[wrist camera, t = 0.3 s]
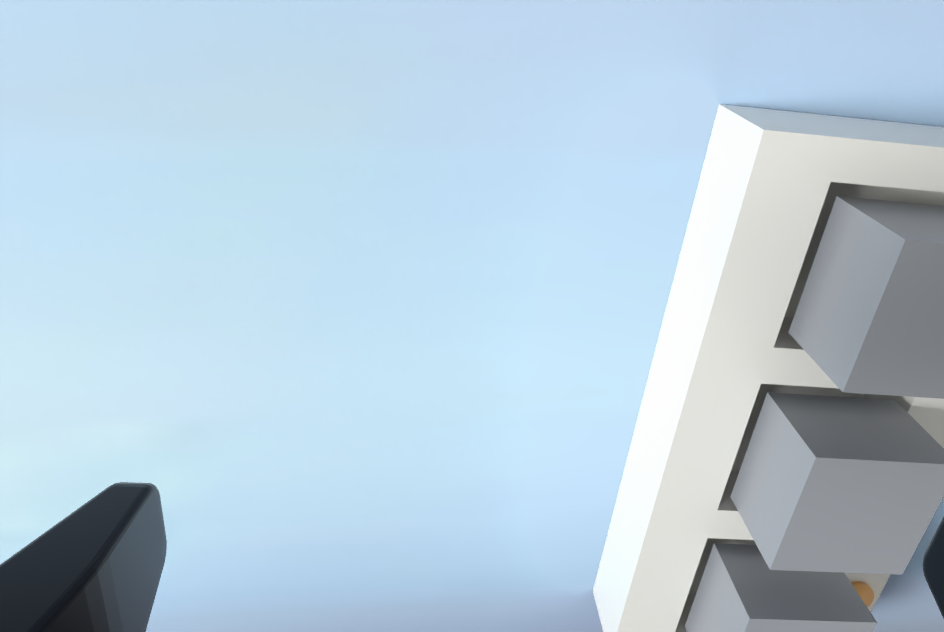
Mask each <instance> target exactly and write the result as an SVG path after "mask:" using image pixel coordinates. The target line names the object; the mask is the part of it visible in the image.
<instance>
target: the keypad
mask: <svg viewBox="0 0 944 632" xmlns="http://www.w3.org/2000/svg"><path fill="white" fill-rule="evenodd" d="M836 196H842V197H853V198H864V199H875V200H886V201H897V202H908V203H919V204H930V205H941V206H944V127H938V126H928V125H919V124H909V123H899V122H889V121H880V120H870V119H860V118H850V117H840V116H831V115H821V114H811V113H801V112H792V111H782V110H772V109H762V108H753V107H743V106H733V105H723V104H719V106H718V110H717V114H716V118H715V121H714V125H713V129H712V133H711V137H710V141H709V145H708V148H707V152H706V156H705V160H704V164H703V168H702V172H701V175H700V179H699V183H698V187H697V191H696V195H695V199H694V202H693V206H692V210H691V214H690V218H689V222H688V226H687V229H686V233H685V237H684V241H683V245H682V249H681V252H680V256H679V260H678V264H677V268H676V272H675V276H674V279H673V283H672V287H671V291H670V295H669V299H668V303H667V306H666V310H665V314H664V318H663V322H662V326H661V330H660V333H659V337H658V341H657V345H656V349H655V353H654V357H653V360H652V364H651V368H650V372H649V376H648V380H647V384H646V387H645V391H644V395H643V399H642V403H641V407H640V411H639V414H638V418H637V422H636V426H635V430H634V434H633V438H632V441H631V445H630V449H629V453H628V457H627V461H626V465H625V468H624V472H623V476H622V480H621V484H620V488H619V492H618V495H617V499H616V503H615V507H614V511H613V515H612V519H611V522H610V526H609V530H608V534H607V538H606V542H605V546H604V549H603V553H602V557H601V561H600V565H599V569H598V572H597V576H596V580H595V584H594V588H593V593H594V597H595V601H596V605H597V609H598V613H599V617H600V621H601V625H602V629H603V632H687V630H686V628H685V624H686V621H687V618H688V616H689V613H690V610H691V607H692V604H693V601H694V599H695V596H696V593H697V590H698V587H699V584H700V582H701V579H702V576H703V573H704V570H705V567H706V565H707V562H708V559H709V556H710V553H711V550H712V548H713V545H714V543H724V544H748V545H756V543H755V541H754V539H753V538H752V536H751V534H750V532H749V530H748V528H747V527H746V525H745V523H744V521H743V519H742V517H741V515H740V514H739V512H738V510H737V508H736V506H735V504H734V502H733V501H732V499H731V494H732V491H733V488H734V485H735V482H736V480H737V477H738V474H739V471H740V468H741V465H742V463H743V460H744V457H745V454H746V451H747V448H748V446H749V443H750V440H751V437H752V434H753V431H754V429H755V426H756V423H757V420H758V417H759V414H760V412H761V409H762V406H763V403H764V400H765V397H766V395H767V392H773V393H790V394H806V395H822V396H838V397H854V398H870V399H886V400H895V401H896V402H897V403H898V404H899V405H900V406H901V407H902V408H903V409H904V410H905V411H907V412H908V413H909V414H910V415H911V416H912V417H913V418H914V419H915V420H916V421H917V422H918V423H919V424H920V425H921V426H922V427H923V428H924V429H925V430H926V431H927V432H928V433H929V434H930V435H931V436H932V437H933V438H934V439H935V440H936V441H937V442H938V443H939V444H940V445H941V446H942V447H943V448H944V399H940V398H924V397H908V396H892V395H876V394H860V393H844V392H842V391H841V390H840V389H839V388H838V387H837V386H836V384H835V383H834V382H833V381H832V380H831V379H830V378H829V377H828V376H827V375H826V373H825V372H824V371H823V370H822V369H821V368H820V367H819V366H818V365H817V364H816V362H815V361H814V360H813V359H812V358H811V357H810V356H809V355H808V354H807V353H806V351H805V350H804V349H803V348H802V347H801V346H800V345H799V344H798V343H797V342H796V340H795V339H794V338H793V337H792V336H791V335H790V334H789V333H788V332H789V330H790V327H791V324H792V321H793V318H794V315H795V313H796V310H797V307H798V304H799V301H800V298H801V296H802V293H803V290H804V287H805V284H806V281H807V279H808V276H809V273H810V270H811V267H812V264H813V262H814V259H815V256H816V253H817V250H818V247H819V245H820V242H821V239H822V236H823V233H824V230H825V228H826V225H827V222H828V219H829V216H830V213H831V211H832V208H833V205H834V202H835V199H836ZM845 574H846V576H847V577H848V579H849V580H850V582H851V583H852V585H853V587H854V588H855V590H856V591H857V593H858V594H859V596H860V597H861V599H862V600H863V602H864V603H865V605H866V606H867V608H868V609H869V611H870V613H871V612H872V610H873V608H874V606H875V604H876V602H877V600H878V598H879V596H880V594H881V592H882V590H883V588H884V586H885V585H886V583H887V581H888V579H889V577H890V575H891V574H869V573H845Z"/></svg>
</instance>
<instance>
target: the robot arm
mask: <svg viewBox="0 0 944 632" xmlns="http://www.w3.org/2000/svg"><path fill="white" fill-rule="evenodd" d="M165 557H166V534H165V527H164V520H163V513H162V507H161V500H160V494H159V491H158V489H157V487H156V486H155V485H153V484H151V483H128V482H120V483H115V484H113V485H111V486H109V487H108V488H106V489H105V490H104V491H102V492H101V493H99V494H98V495H97V496H95V497H94V498H92V499H91V500H90V501H88V502H87V503H85V504H84V505H83V506H81V507H80V508H78V509H77V510H76V511H74V512H73V513H72V514H70V515H69V516H67V517H66V518H65V519H63V520H62V521H60V522H59V523H58V524H56V525H55V526H53V527H52V528H51V529H49V530H48V531H46V532H45V533H44V534H42V535H41V536H39V537H38V538H37V539H35V540H34V541H33V542H31V543H30V544H28V545H27V546H26V547H24V548H23V549H21V550H20V551H19V552H17V553H16V554H14V555H13V556H12V557H10V558H9V559H7V560H6V561H5V562H3V563H2V564H1V565H0V632H146V628H147V624H148V621H149V617H150V613H151V610H152V606H153V603H154V599H155V595H156V592H157V588H158V584H159V581H160V577H161V573H162V570H163V566H164V562H165ZM923 571H924V575H925V578H926V581H927V583H928V585H929V587H930V590H931V592H932V594H933V596H934V598H935V601H936V603H937V605H938V607H939V609H940V612H941V614H942V616H943V618H944V517H943V519H942V521H941V523H940V525H939V527H938V529H937V531H936V533H935V535H934V537H933V539H932V541H931V543H930V545H929V547H928V549H927V551H926V553H925V555H924V559H923Z"/></svg>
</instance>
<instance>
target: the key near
mask: <svg viewBox="0 0 944 632" xmlns="http://www.w3.org/2000/svg"><path fill="white" fill-rule="evenodd" d="M788 333H789V334H790V335H791V336H792V337H793V338H794V339H795V340H796V342H797V343H798V344H799V345H800V346H801V347H802V348H803V349H804V350H805V351H806V353H807V354H808V355H809V356H810V357H811V358H812V359H813V360H814V361H815V362H816V364H817V365H818V366H819V367H820V368H821V369H822V370H823V371H824V372H825V373H826V375H827V376H828V377H829V378H830V379H831V380H832V381H833V382H834V383H835V384H836V386H837V387H838V388H839V389H840V390H841V391H842V392H844V393H860V394H876V395H892V396H908V397H924V398H940V399H944V206H941V205H930V204H919V203H908V202H897V201H886V200H875V199H864V198H853V197H842V196H836V199H835V202H834V205H833V208H832V211H831V213H830V216H829V219H828V222H827V225H826V228H825V230H824V233H823V236H822V239H821V242H820V245H819V247H818V250H817V253H816V256H815V259H814V262H813V264H812V267H811V270H810V273H809V276H808V279H807V281H806V284H805V287H804V290H803V293H802V296H801V298H800V301H799V304H798V307H797V310H796V313H795V315H794V318H793V321H792V324H791V327H790V330H789V332H788Z"/></svg>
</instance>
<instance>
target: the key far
mask: <svg viewBox="0 0 944 632" xmlns="http://www.w3.org/2000/svg"><path fill="white" fill-rule="evenodd" d="M876 624H877V622H876V620H875V619H874V617H873V616H872V614H871V613H870V611H869V609H868V608H867V606H866V605H865V603H864V602H863V600H862V599H861V597H860V596H859V594H858V593H857V591H856V590H855V588H854V587H853V585H852V583H851V582H850V580H849V579H848V577H847V576H846V574H845V573H842V572H814V571H787V570H770V569H769V567H768V565H767V564H766V562H765V560H764V558H763V556H762V554H761V552H760V551H759V549H758V547H757V545H748V544H724V543H714V545H713V548H712V550H711V553H710V556H709V559H708V562H707V565H706V567H705V570H704V573H703V576H702V579H701V582H700V584H699V587H698V590H697V593H696V596H695V599H694V601H693V604H692V607H691V610H690V613H689V616H688V618H687V621H686V624H685V628H686V630H687V632H872V631H873V629H874V628H875V626H876Z"/></svg>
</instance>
